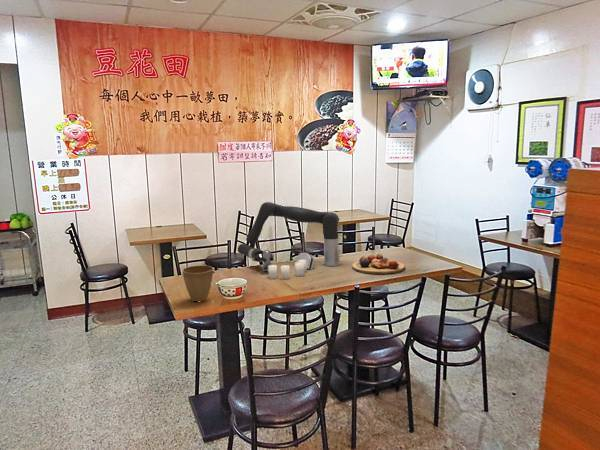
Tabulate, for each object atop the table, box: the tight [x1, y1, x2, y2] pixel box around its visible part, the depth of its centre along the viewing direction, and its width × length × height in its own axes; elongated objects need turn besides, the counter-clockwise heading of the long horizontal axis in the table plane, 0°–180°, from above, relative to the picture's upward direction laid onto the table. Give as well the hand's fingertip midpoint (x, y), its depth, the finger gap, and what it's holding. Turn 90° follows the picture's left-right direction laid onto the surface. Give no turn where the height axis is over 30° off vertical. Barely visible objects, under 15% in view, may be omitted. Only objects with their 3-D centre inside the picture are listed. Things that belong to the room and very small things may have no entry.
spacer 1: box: [267, 264, 278, 280], centre depth 253 cm, size 5×5×7 cm
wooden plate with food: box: [351, 253, 406, 275], centre depth 268 cm, size 32×32×8 cm
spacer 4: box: [298, 260, 308, 274], centre depth 264 cm, size 5×5×7 cm
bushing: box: [262, 249, 272, 271], centre depth 264 cm, size 5×5×12 cm
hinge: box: [293, 252, 315, 271], centre depth 275 cm, size 17×5×10 cm, turn 26°
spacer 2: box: [280, 264, 291, 280], centre depth 251 cm, size 5×5×7 cm
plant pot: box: [181, 265, 214, 302], centre depth 216 cm, size 15×15×16 cm
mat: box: [260, 270, 269, 275], centre depth 265 cm, size 8×8×1 cm
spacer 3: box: [294, 262, 305, 277], centre depth 257 cm, size 5×5×7 cm
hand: (269, 259), depth 261 cm, fingers closed on bushing, 4 cm apart
